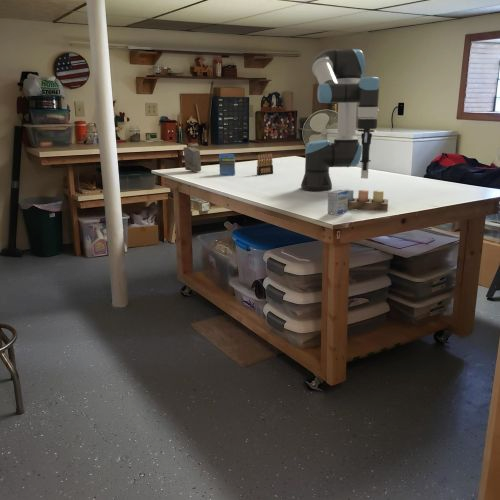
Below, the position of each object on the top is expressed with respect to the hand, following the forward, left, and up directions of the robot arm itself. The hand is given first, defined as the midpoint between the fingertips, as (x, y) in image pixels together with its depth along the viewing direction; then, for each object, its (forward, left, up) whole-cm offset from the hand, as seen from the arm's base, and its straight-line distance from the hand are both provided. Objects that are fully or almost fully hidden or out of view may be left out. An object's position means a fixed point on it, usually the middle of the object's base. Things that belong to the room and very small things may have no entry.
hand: (364, 178), depth 210 cm
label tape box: (-82, +72, -13) cm, 110 cm away
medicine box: (-9, -11, -13) cm, 19 cm away
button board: (0, 0, -12) cm, 12 cm away
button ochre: (+6, 0, -11) cm, 12 cm away
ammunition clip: (-61, +78, -13) cm, 100 cm away
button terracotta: (0, 0, -11) cm, 11 cm away
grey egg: (-6, 0, -11) cm, 12 cm away
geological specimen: (-106, +78, -13) cm, 132 cm away
